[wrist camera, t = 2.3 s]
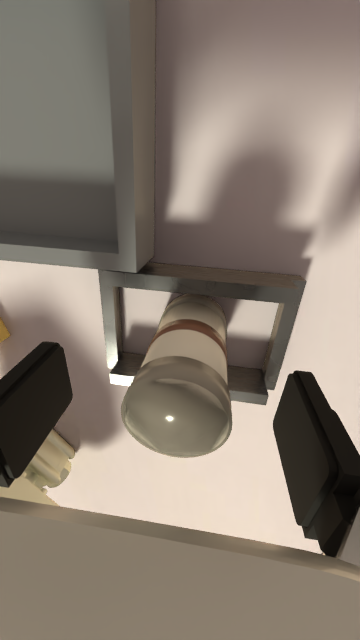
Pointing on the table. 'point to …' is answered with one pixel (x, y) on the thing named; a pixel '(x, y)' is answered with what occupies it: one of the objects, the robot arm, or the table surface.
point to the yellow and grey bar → (3, 331)
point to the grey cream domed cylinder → (183, 382)
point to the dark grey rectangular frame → (209, 283)
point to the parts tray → (77, 132)
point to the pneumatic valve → (42, 472)
